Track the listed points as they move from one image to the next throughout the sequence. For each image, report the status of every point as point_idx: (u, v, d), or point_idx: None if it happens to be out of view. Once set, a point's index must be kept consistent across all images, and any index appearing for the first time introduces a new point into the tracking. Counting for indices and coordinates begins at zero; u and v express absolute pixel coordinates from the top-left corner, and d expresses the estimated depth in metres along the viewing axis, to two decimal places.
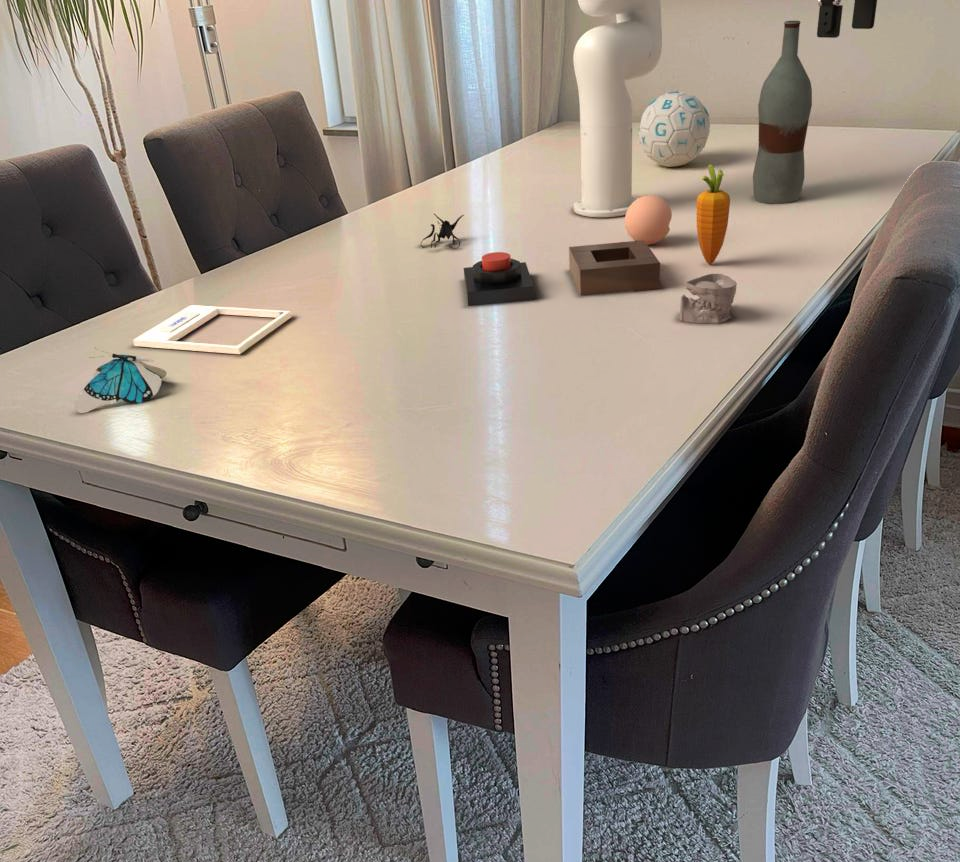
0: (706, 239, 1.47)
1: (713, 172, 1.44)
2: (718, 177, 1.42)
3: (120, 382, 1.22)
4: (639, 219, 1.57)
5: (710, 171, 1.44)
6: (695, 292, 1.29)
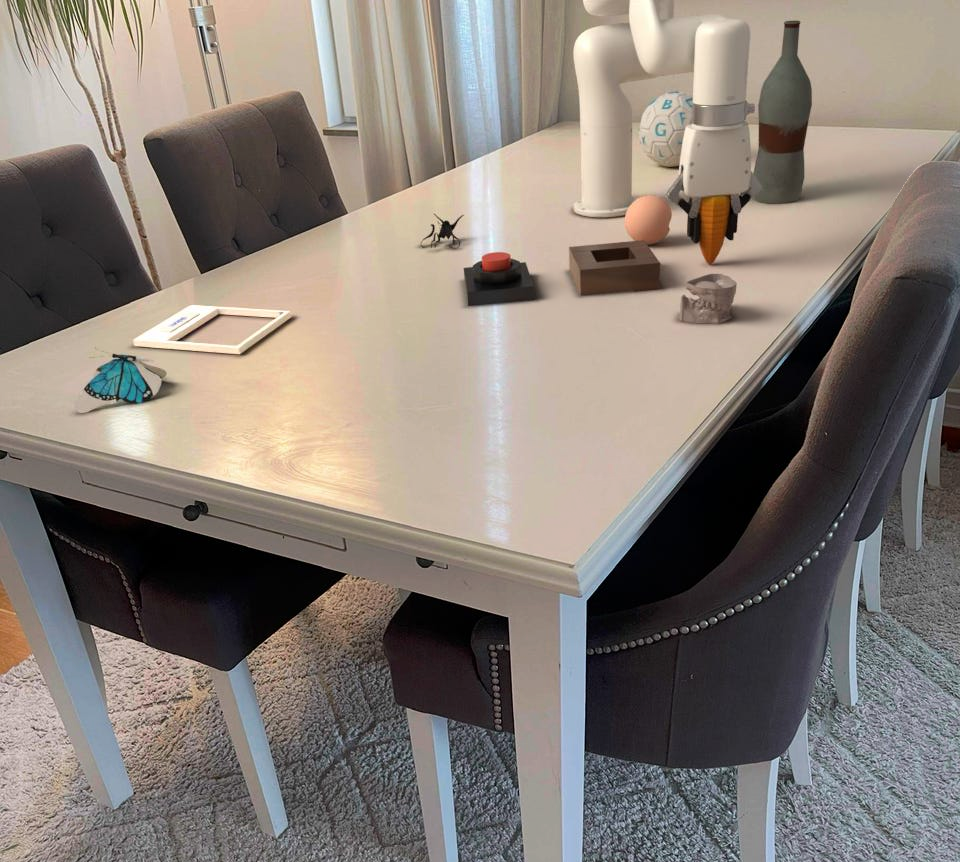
0: (706, 239, 1.47)
1: None
2: None
3: (120, 382, 1.22)
4: (639, 219, 1.57)
5: None
6: (695, 292, 1.29)
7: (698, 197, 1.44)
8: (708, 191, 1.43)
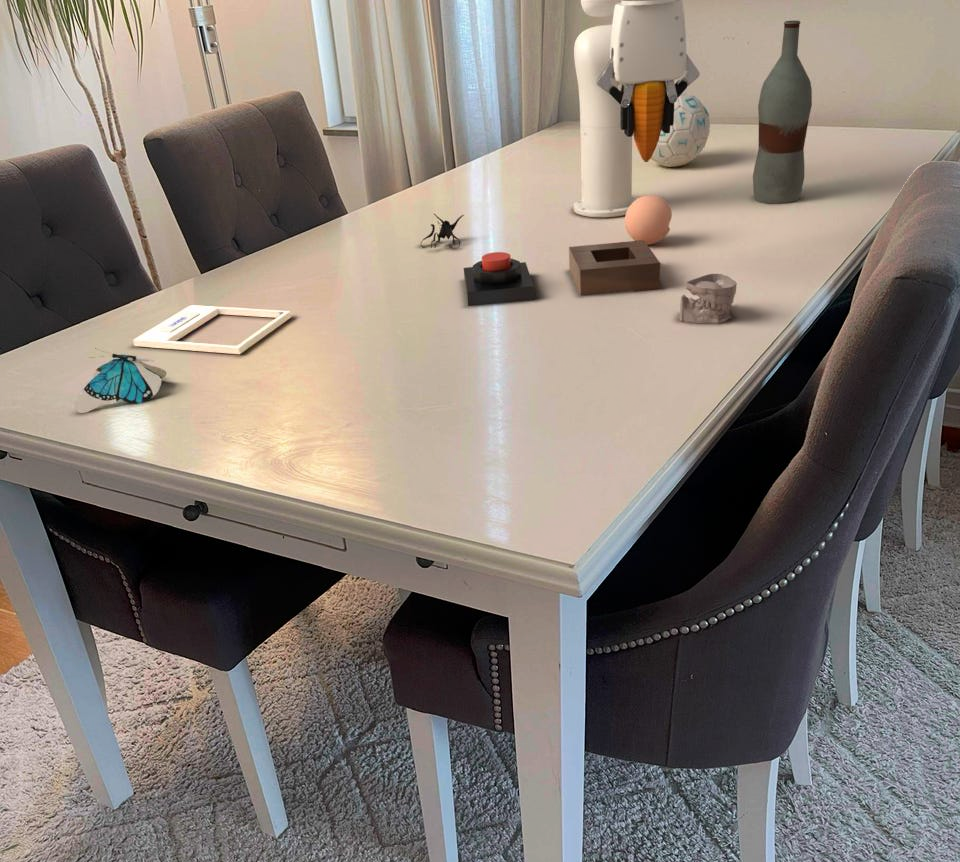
0: (641, 131, 1.36)
1: None
2: None
3: (120, 382, 1.22)
4: (639, 219, 1.57)
5: None
6: (695, 292, 1.29)
7: (630, 83, 1.33)
8: (640, 76, 1.32)
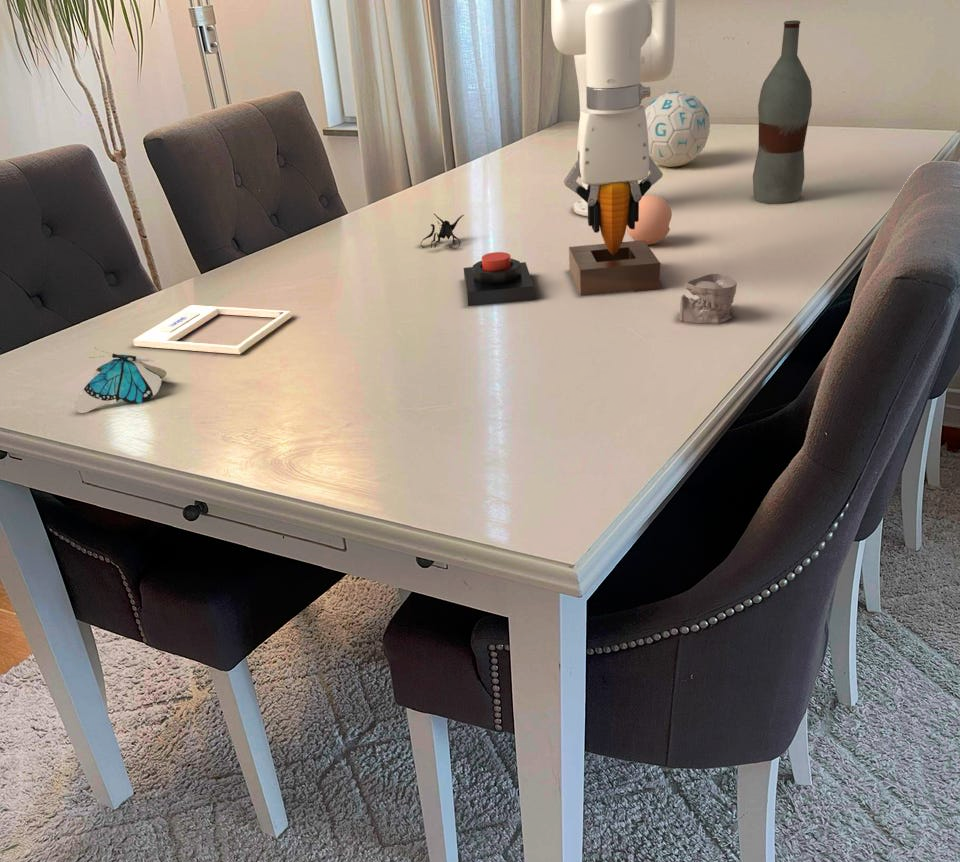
0: (607, 228, 1.42)
1: None
2: None
3: (120, 382, 1.22)
4: (639, 219, 1.57)
5: None
6: (695, 292, 1.29)
7: (596, 184, 1.39)
8: (605, 178, 1.38)
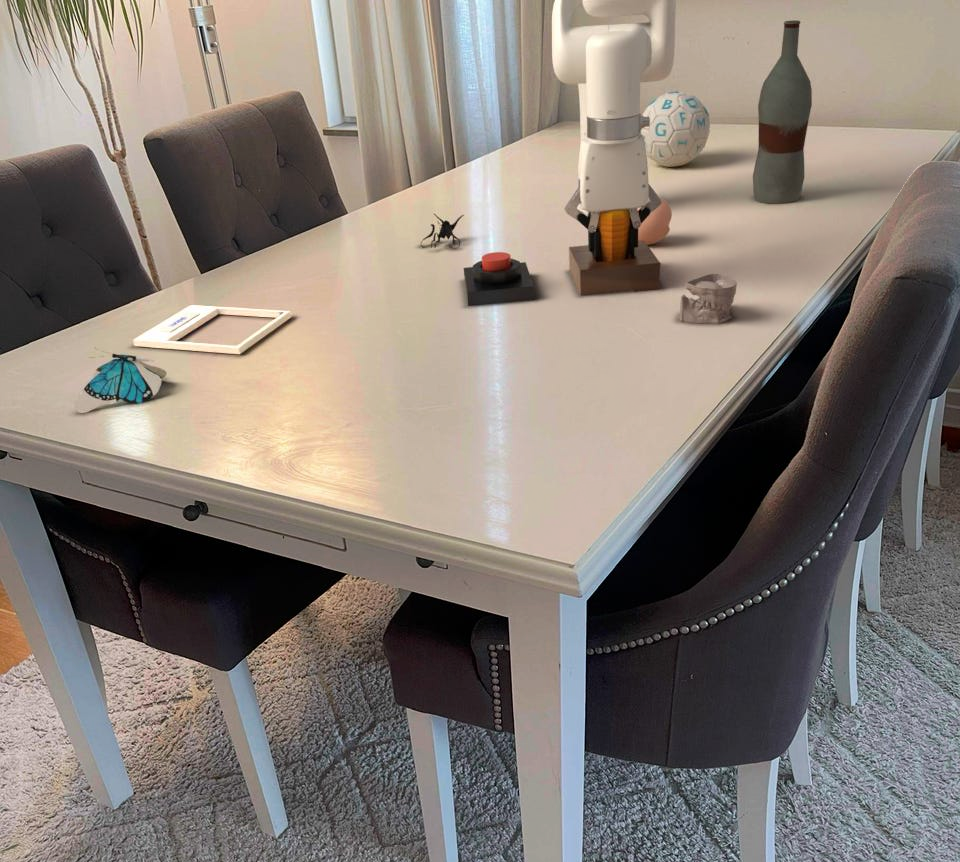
0: (607, 254, 1.45)
1: None
2: None
3: (120, 382, 1.22)
4: None
5: None
6: (695, 292, 1.29)
7: (596, 211, 1.41)
8: (605, 205, 1.40)
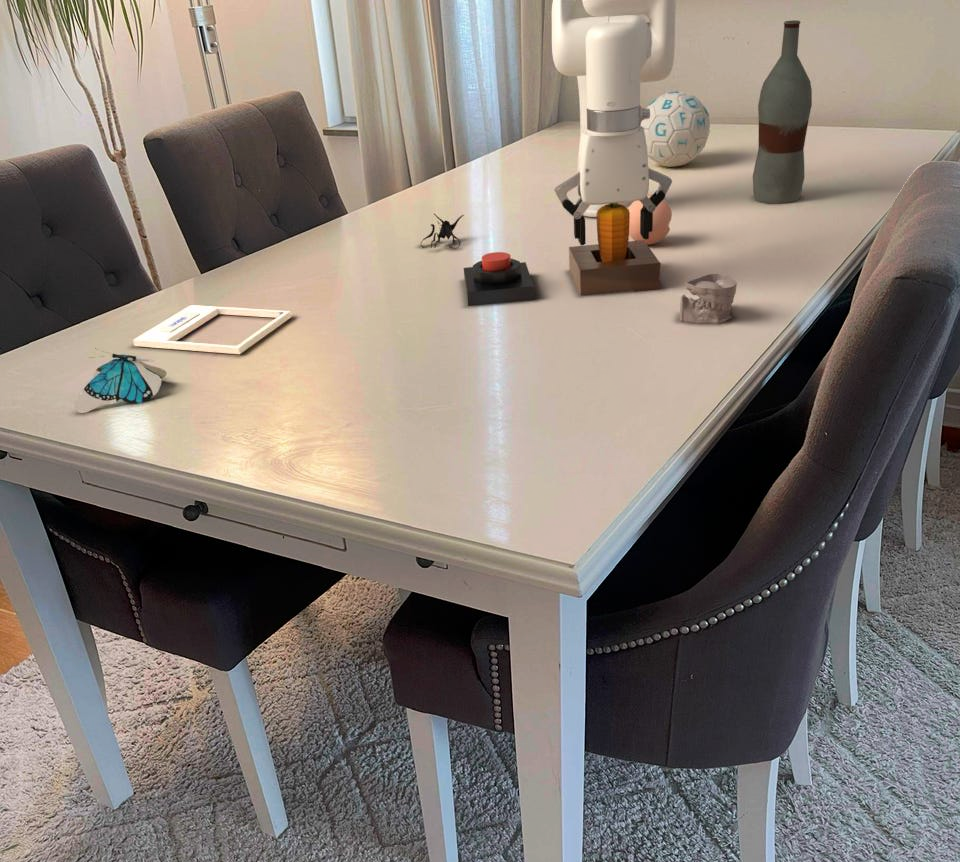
0: (607, 254, 1.45)
1: None
2: None
3: (120, 382, 1.22)
4: (639, 219, 1.57)
5: None
6: (695, 292, 1.29)
7: None
8: (605, 198, 1.40)
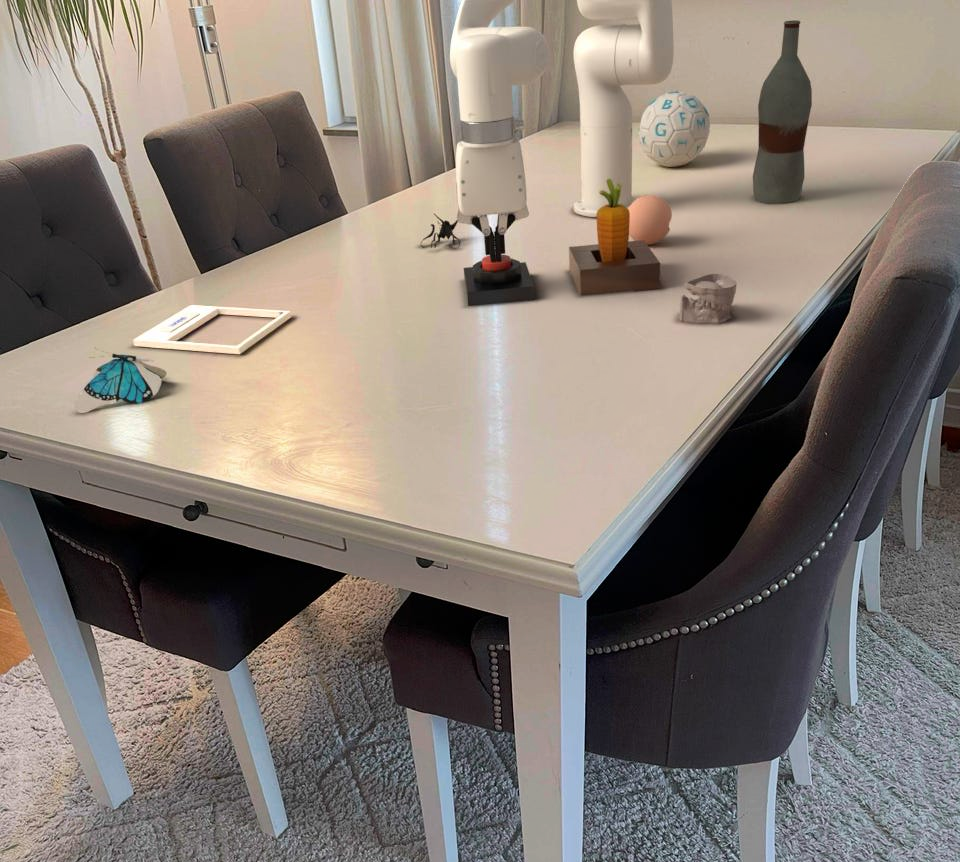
0: (607, 254, 1.45)
1: (612, 186, 1.41)
2: (615, 192, 1.39)
3: (120, 382, 1.22)
4: (639, 219, 1.57)
5: (609, 185, 1.41)
6: (695, 292, 1.29)
7: (482, 215, 1.40)
8: (483, 209, 1.39)
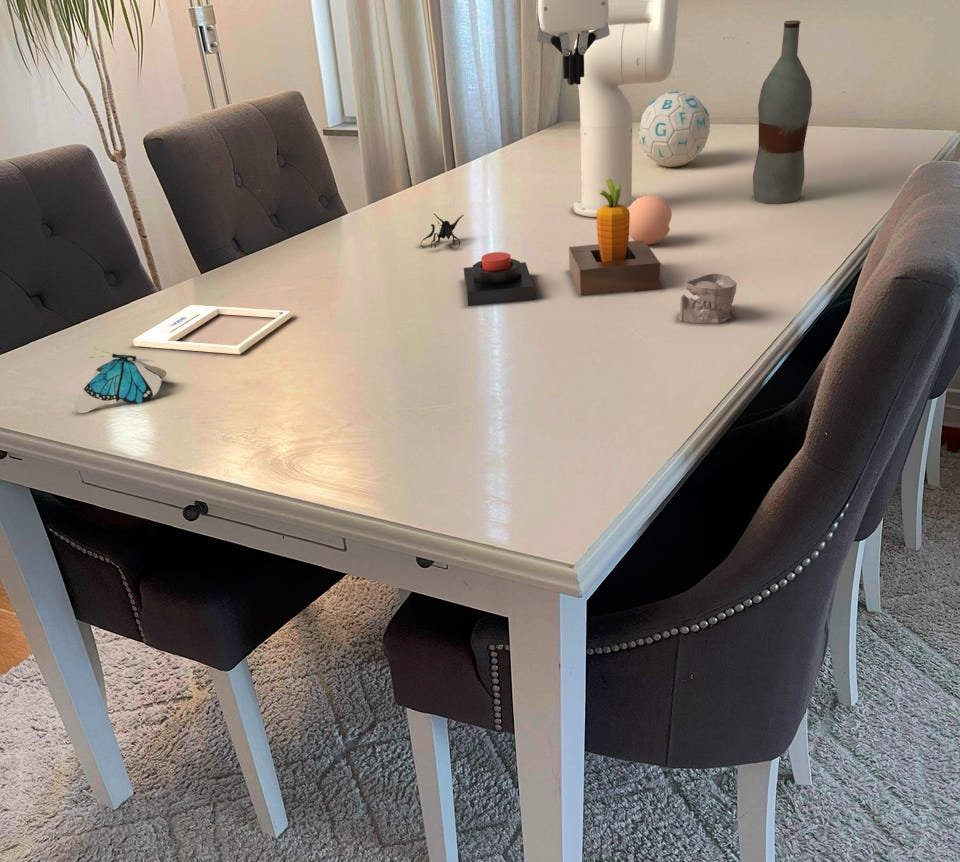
0: (607, 254, 1.45)
1: (612, 186, 1.41)
2: (615, 191, 1.39)
3: (120, 382, 1.22)
4: (639, 219, 1.57)
5: (609, 185, 1.41)
6: (695, 292, 1.29)
7: (563, 32, 1.38)
8: (564, 25, 1.37)
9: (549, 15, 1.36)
